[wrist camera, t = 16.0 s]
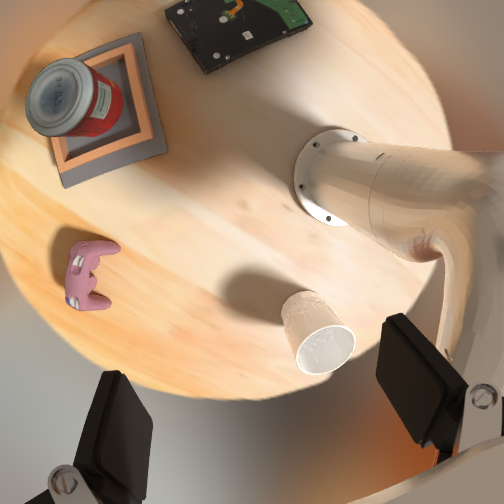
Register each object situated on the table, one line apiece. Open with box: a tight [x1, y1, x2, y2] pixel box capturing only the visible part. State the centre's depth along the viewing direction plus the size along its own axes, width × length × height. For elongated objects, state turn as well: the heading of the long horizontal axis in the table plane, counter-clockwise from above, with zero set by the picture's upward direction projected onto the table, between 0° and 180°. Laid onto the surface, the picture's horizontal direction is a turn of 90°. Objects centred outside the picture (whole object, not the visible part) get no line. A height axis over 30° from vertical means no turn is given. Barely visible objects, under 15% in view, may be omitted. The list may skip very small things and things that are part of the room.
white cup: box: [281, 290, 356, 375], centre depth 39 cm, size 8×8×10 cm
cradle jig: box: [51, 32, 168, 189], centre depth 28 cm, size 14×16×3 cm
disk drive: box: [165, 0, 313, 75], centre depth 27 cm, size 10×3×15 cm
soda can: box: [26, 58, 123, 137], centre depth 23 cm, size 7×7×12 cm
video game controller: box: [65, 240, 121, 311], centre depth 34 cm, size 10×5×7 cm, turn 160°
